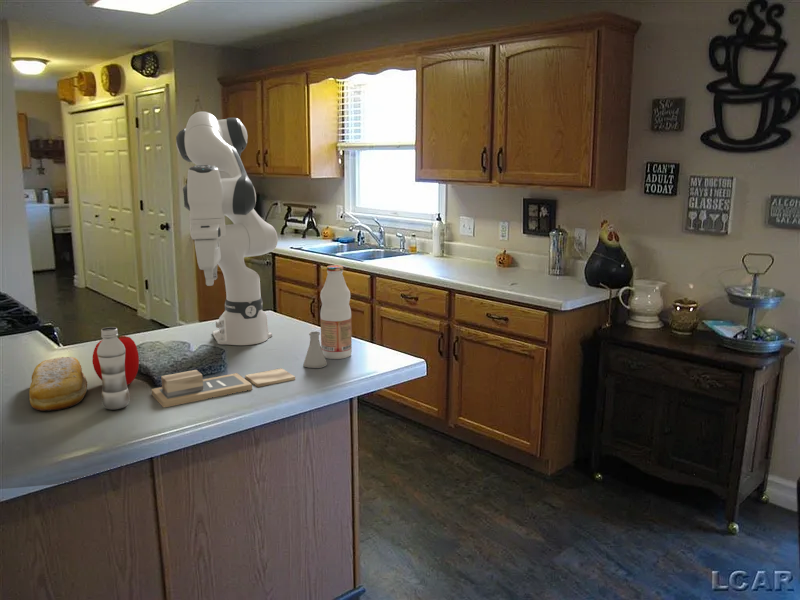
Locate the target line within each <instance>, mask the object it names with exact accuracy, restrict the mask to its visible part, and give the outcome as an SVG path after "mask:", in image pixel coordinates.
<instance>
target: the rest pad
mask: <svg viewBox="0 0 800 600" xmlns="http://www.w3.org/2000/svg"><path fill="white" fill-rule="evenodd" d="M244 379H246V380H247V381H248V382H250V383H251V384H252V385H254V384H255V385H254V386H256V387H257V388H260V387H264V386H270V385H275V384H279V383H285V382H289V381H294V380H295V381H296V376H295V375H294V374H292V373H290V372H289V371H287V370H286V369H284V368H281V367H280V368H277V369H271V370H266V371H260V372H254V373H249V374H245V375H244Z"/></svg>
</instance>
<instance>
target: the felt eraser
mask: <svg viewBox="0 0 800 600" xmlns="http://www.w3.org/2000/svg"><path fill="white" fill-rule="evenodd" d="M203 379H204V377H203V374H202V373H201V372H199V370H197V369H194V370H193V369H192V370H188V371H182V372H176V373H173V374H172V373H170V374H165V375H161V387H162V391H163V392H164V393H165V394H166V395H167V396H168V397H169V396H174V395H179V394H184V393H189V392H194V391H199V390H203Z"/></svg>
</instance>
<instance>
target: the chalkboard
mask: <svg viewBox="0 0 800 600" xmlns="http://www.w3.org/2000/svg"><path fill="white" fill-rule="evenodd" d="M247 390H248V391H252V390H253V383H252V382H250V381H249V380H248V379H246V378H245V377H243V376H242V375H240V374H239V373H238V372H235V373H229V374H224V375H219V376H214V377H209V378H203V390H199V391H194V392H189V393H184V394H179V395H174V396H169V397H168V396H167V395H166V394H165V393H164V392H163V391H162V386H161V387H160V386H159V387H155V388H151V395H152V396H153V398H154V399H155V400H156V401H157V402H158V403H159V405H161V407H162V408H169V407H173V406H178V405H183V404H189V403H193V402H197V401H198V402H199V401H203V400H209V399H212V397H213V398H218V397H223V396H227V394H228V395H232V393H233V394H237V393H236V392H238V393H242V391H243V392H247ZM208 398H209V399H208Z"/></svg>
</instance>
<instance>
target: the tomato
mask: <svg viewBox="0 0 800 600" xmlns="http://www.w3.org/2000/svg"><path fill="white" fill-rule="evenodd" d="M117 338H118V339H119V340H120V341H121V342H122V343H123V344H124V347H125V377H126V382H127V386H129V385H130V384H131V383H132V382H133V381H134V380H135V379H136V377H137V375H138V372H139V368H140V367H139V365H140V359H139V357H140V356H139V351H138V347H137V344H136V343H135V341H134V340H133V339H132V338H131V337H130V336H127V335H122V334H118V336H117ZM102 340H103V339H101V340H99V342H98V343H97V344H96V345H95V346H94V349H93V353H92V366H93V370H94V372H95V374H96V376H98V378H99V379H100V380H101V381H102V372H101V367H100V363H99V359H98V355H97V349H98V346H99V344H100V343H101V341H102Z"/></svg>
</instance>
